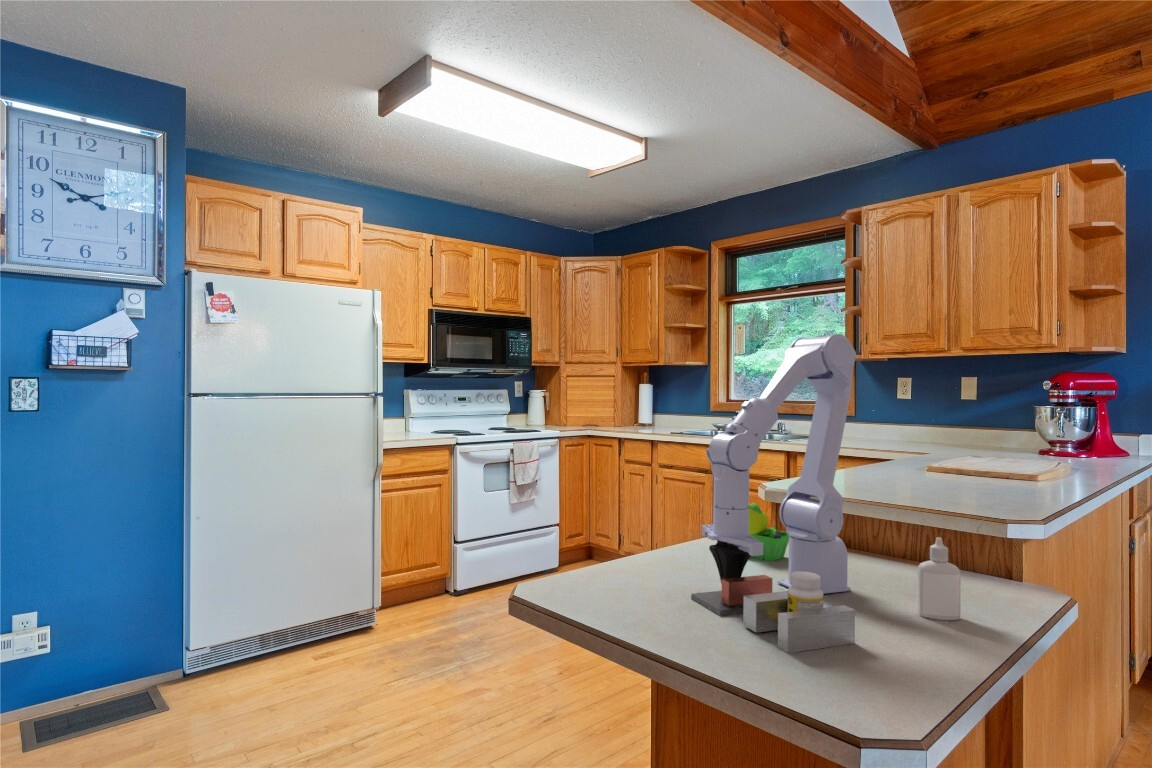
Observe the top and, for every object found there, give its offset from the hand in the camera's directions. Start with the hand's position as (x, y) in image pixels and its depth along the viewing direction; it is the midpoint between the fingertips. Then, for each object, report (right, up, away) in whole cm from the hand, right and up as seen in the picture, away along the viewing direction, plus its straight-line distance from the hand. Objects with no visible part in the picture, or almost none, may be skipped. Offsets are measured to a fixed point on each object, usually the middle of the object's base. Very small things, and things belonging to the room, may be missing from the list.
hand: (730, 589), depth 105 cm
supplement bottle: (+7, -2, -16) cm, 17 cm away
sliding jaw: (+3, -1, -9) cm, 9 cm away
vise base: (+1, -2, -2) cm, 3 cm away
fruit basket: (+13, -3, +29) cm, 32 cm away
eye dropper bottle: (+30, -2, -7) cm, 31 cm away
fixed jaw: (+7, -1, -19) cm, 20 cm away
